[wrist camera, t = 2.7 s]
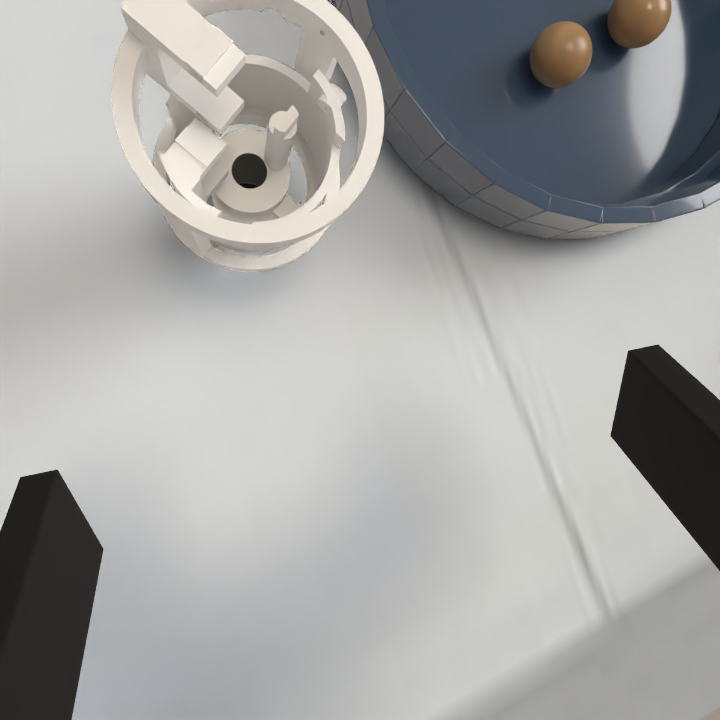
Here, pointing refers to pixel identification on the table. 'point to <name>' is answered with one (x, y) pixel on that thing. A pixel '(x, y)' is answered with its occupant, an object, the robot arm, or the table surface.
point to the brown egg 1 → (561, 54)
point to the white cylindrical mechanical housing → (245, 106)
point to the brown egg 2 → (637, 21)
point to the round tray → (549, 112)
